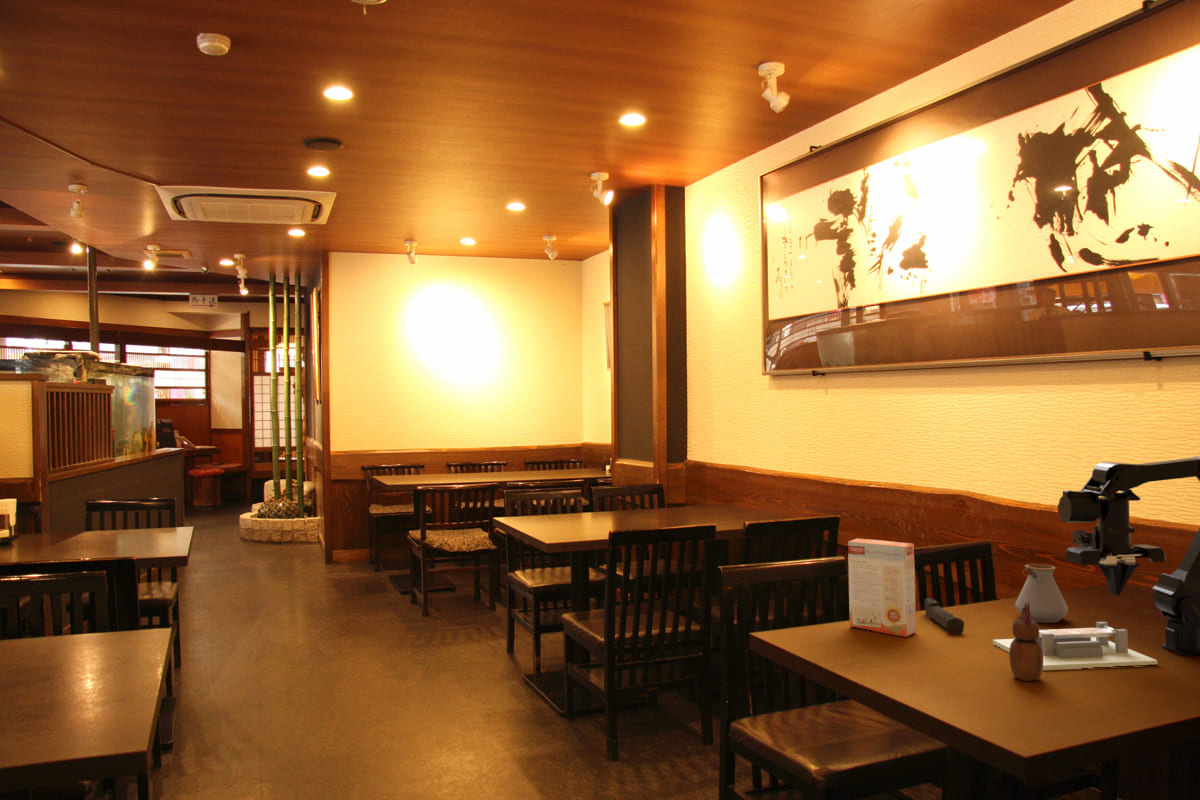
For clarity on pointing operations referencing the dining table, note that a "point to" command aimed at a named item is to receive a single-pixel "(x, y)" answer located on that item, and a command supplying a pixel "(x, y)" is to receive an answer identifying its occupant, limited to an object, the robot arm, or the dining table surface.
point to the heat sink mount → (1085, 651)
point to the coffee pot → (1042, 595)
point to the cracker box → (882, 586)
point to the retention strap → (1080, 632)
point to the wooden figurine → (1026, 648)
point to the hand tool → (943, 617)
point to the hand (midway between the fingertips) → (1116, 595)
